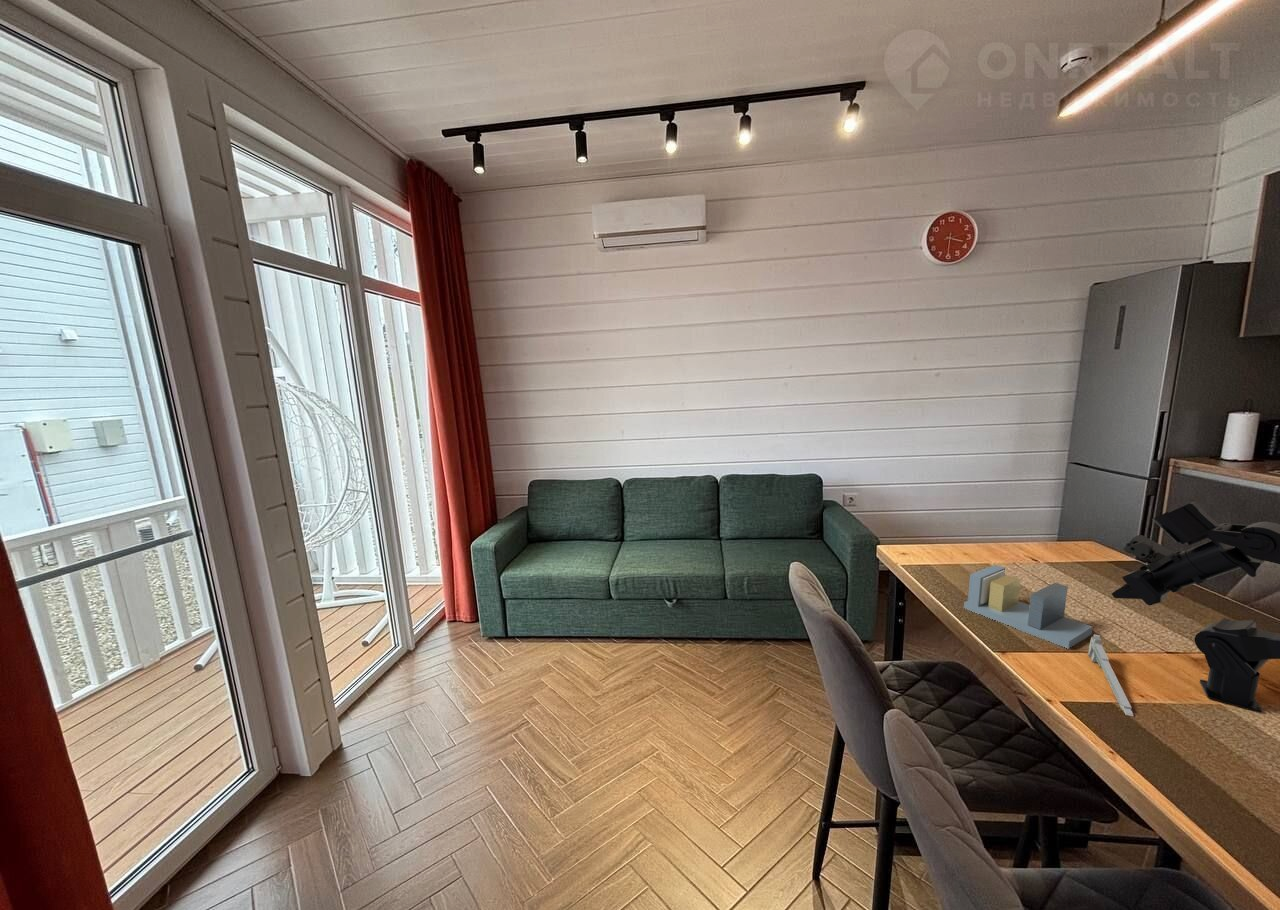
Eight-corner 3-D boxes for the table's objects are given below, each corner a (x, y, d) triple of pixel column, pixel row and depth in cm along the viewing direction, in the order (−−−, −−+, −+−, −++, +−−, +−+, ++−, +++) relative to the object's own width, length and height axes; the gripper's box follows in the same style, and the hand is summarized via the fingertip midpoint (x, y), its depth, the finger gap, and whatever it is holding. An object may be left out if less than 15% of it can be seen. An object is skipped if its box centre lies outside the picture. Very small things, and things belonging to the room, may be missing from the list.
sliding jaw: (1064, 616, 116) (1067, 586, 114) (1040, 629, 110) (1043, 598, 109) (1049, 611, 118) (1053, 582, 117) (1025, 623, 113) (1028, 593, 111)
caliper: (1087, 657, 103) (1090, 631, 102) (1093, 658, 103) (1097, 632, 102) (1125, 716, 86) (1130, 685, 85) (1133, 718, 85) (1138, 687, 84)
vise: (1091, 634, 111) (1097, 595, 110) (1068, 649, 106) (1073, 608, 104) (988, 597, 130) (991, 563, 129) (963, 608, 125) (966, 573, 123)
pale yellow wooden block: (1017, 604, 122) (1020, 578, 121) (1001, 611, 119) (1004, 586, 118) (1004, 599, 125) (1006, 574, 124) (988, 607, 121) (990, 581, 120)
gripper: (1178, 519, 99) (1102, 553, 110) (1143, 536, 91) (1065, 570, 102) (1230, 567, 93) (1144, 597, 105) (1198, 589, 85) (1109, 619, 96)
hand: (1115, 594), depth 102 cm, fingers closed
